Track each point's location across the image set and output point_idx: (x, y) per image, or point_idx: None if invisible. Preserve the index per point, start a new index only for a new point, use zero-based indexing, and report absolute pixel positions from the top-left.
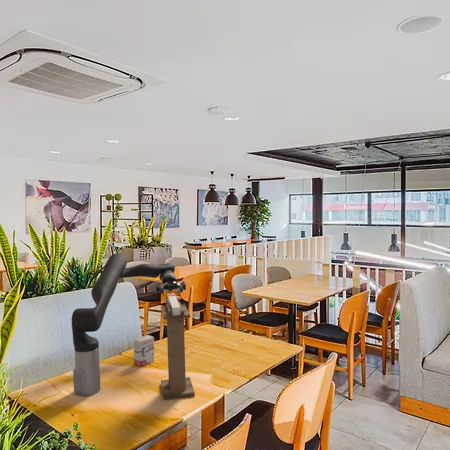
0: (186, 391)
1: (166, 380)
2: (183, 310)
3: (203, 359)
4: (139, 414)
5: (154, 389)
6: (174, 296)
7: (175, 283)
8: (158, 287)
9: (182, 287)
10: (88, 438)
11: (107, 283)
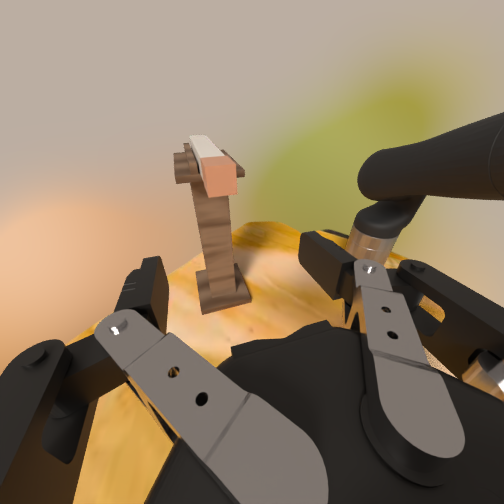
0: (206, 273)
1: (241, 298)
2: (184, 144)
3: (153, 447)
4: (256, 247)
5: (256, 288)
6: (203, 156)
7: (203, 358)
8: (398, 269)
9: (120, 299)
10: (285, 225)
11: None
